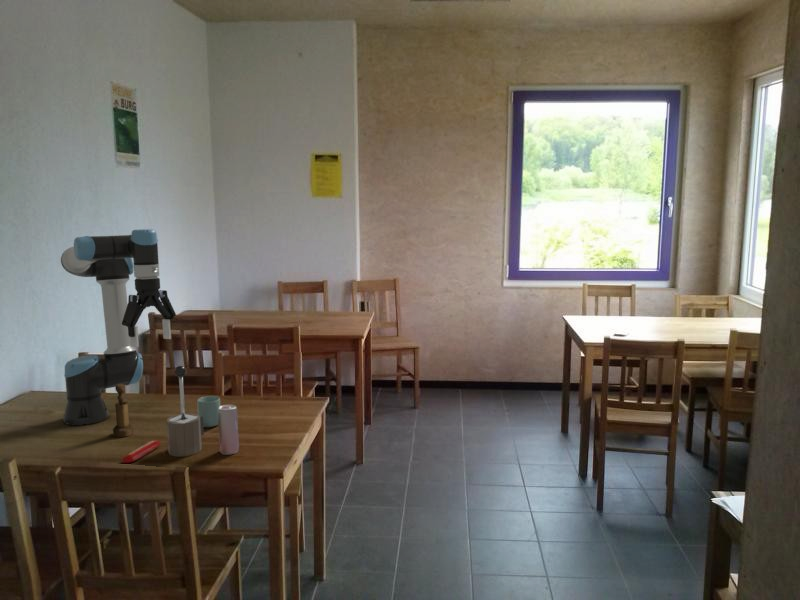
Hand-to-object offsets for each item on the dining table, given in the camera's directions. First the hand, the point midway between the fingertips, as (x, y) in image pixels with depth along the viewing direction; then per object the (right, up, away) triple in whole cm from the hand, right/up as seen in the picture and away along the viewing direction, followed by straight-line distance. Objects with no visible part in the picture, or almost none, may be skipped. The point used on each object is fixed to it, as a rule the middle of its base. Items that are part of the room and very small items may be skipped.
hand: (151, 342), depth 206 cm
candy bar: (-2, -36, -3) cm, 37 cm away
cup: (+12, -32, +24) cm, 41 cm away
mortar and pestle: (-16, -33, +16) cm, 40 cm away
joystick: (+11, -26, -1) cm, 28 cm away
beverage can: (+26, -35, -1) cm, 44 cm away
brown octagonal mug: (+12, -35, +2) cm, 37 cm away
